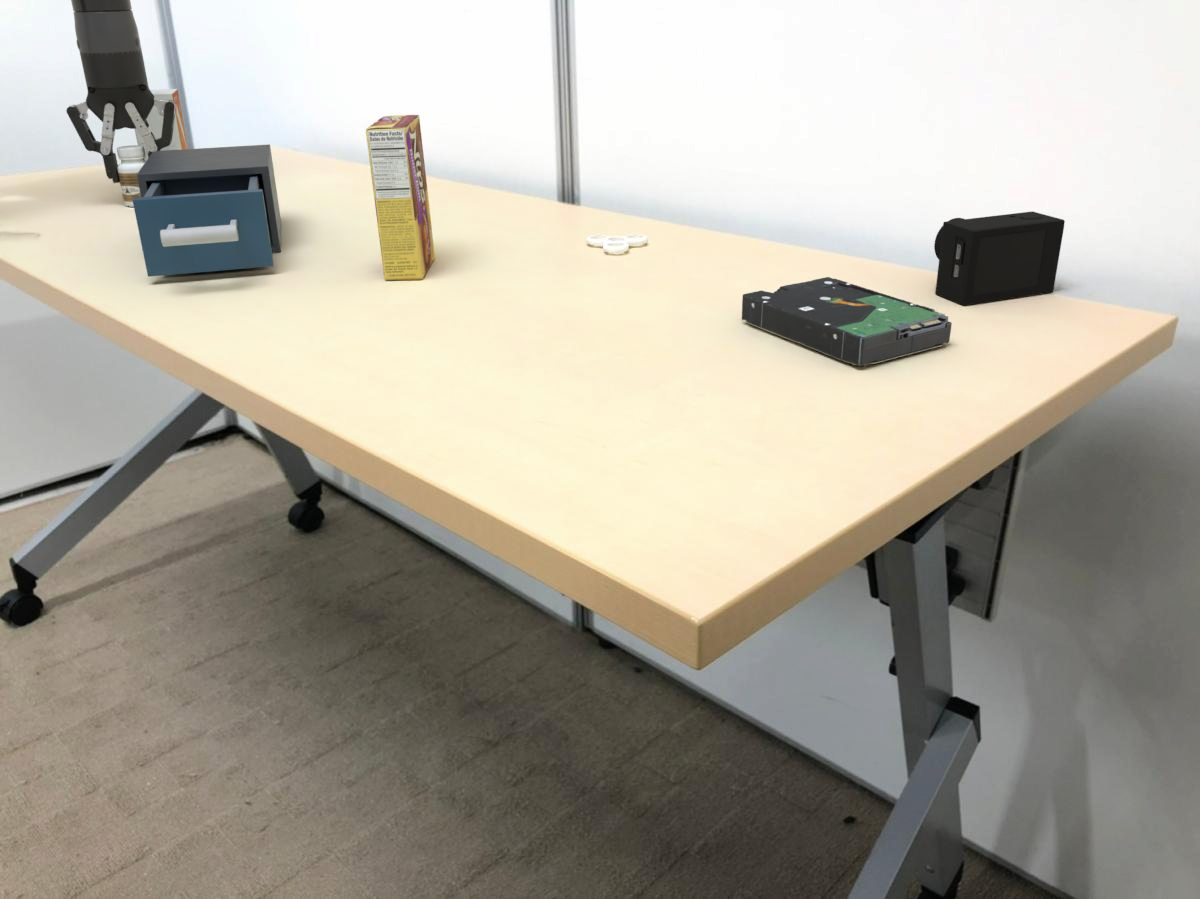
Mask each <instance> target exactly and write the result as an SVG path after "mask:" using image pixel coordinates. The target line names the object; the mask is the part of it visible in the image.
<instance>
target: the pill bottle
mask: <svg viewBox="0 0 1200 899" xmlns="http://www.w3.org/2000/svg"><path fill="white" fill-rule="evenodd" d="M116 150H117V151H116V153H117V157H118V160H120V163H119V164H118V166H117V172H118V177H119V181H120V182H119V185H120V191H121V195H122V200H123V204H124V206H126V207H128V206H129V207H130V208H134V205H133V199H134V198H139V197H141V194H140V189H139V184H138V179H137V173H138V172H139V171H140V169H141V168H142V166H143V165H144V164H145V162H146V161H145V159H144V158H145V157H146V156H145V150H144V146H141V145H138V144H135V145H134V144H133V145H123V146H119V147H116Z"/></svg>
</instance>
